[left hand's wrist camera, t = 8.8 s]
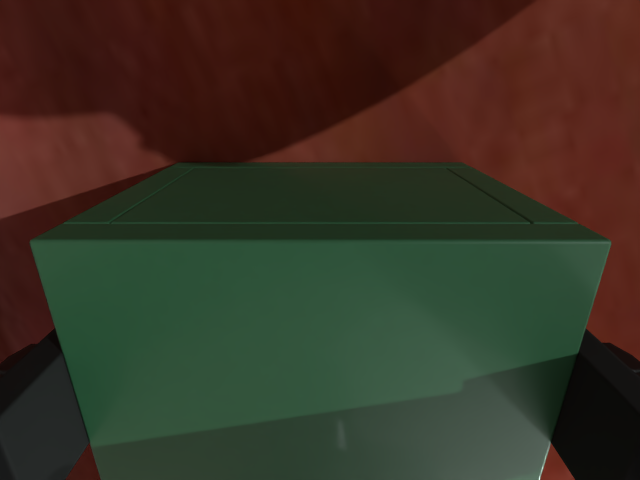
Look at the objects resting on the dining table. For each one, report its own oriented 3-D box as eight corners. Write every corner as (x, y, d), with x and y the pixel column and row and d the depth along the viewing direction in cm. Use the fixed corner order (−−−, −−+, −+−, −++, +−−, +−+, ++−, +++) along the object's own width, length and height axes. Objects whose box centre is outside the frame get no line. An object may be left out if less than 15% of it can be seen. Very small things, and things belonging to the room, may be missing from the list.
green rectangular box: (416, 502, 23) (467, 721, 15) (223, 502, 23) (172, 721, 15) (463, 161, 15) (614, 240, 7) (176, 161, 15) (26, 240, 7)
